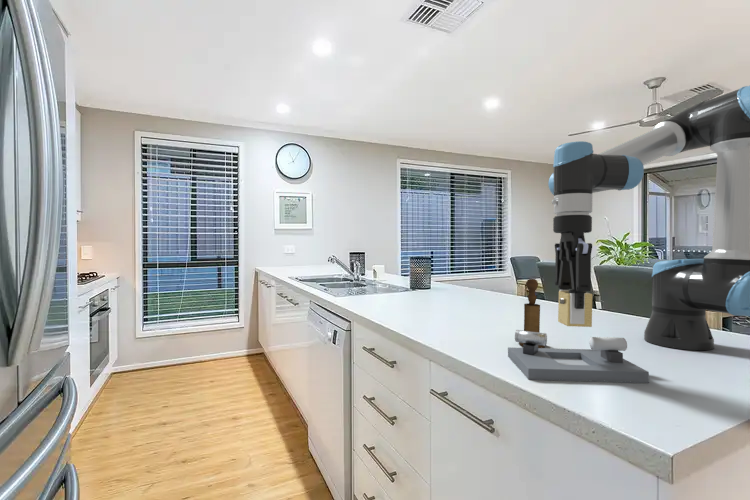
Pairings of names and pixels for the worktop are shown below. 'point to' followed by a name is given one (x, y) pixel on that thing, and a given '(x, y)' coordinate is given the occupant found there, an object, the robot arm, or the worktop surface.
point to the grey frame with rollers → (581, 363)
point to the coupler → (565, 309)
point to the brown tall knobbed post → (532, 310)
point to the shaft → (530, 340)
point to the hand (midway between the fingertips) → (571, 320)
